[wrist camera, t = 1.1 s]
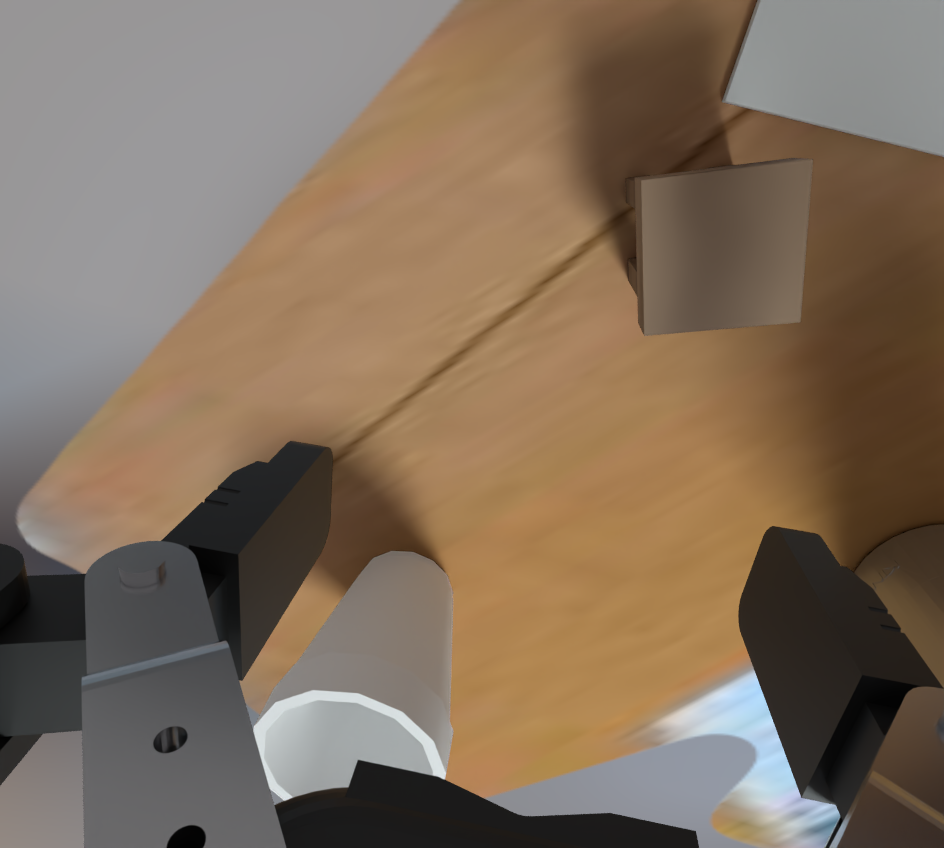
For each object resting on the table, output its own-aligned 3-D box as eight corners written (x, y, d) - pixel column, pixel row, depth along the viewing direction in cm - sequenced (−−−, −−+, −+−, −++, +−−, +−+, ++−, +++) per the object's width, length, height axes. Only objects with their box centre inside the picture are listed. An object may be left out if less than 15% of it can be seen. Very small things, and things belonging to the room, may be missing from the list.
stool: (741, 155, 29) (813, 159, 21) (736, 277, 32) (800, 322, 23) (617, 171, 30) (641, 180, 22) (621, 288, 32) (644, 335, 24)
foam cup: (345, 515, 40) (257, 668, 28) (488, 548, 40) (460, 718, 28) (331, 628, 44) (248, 805, 32) (460, 659, 44) (426, 850, 32)
